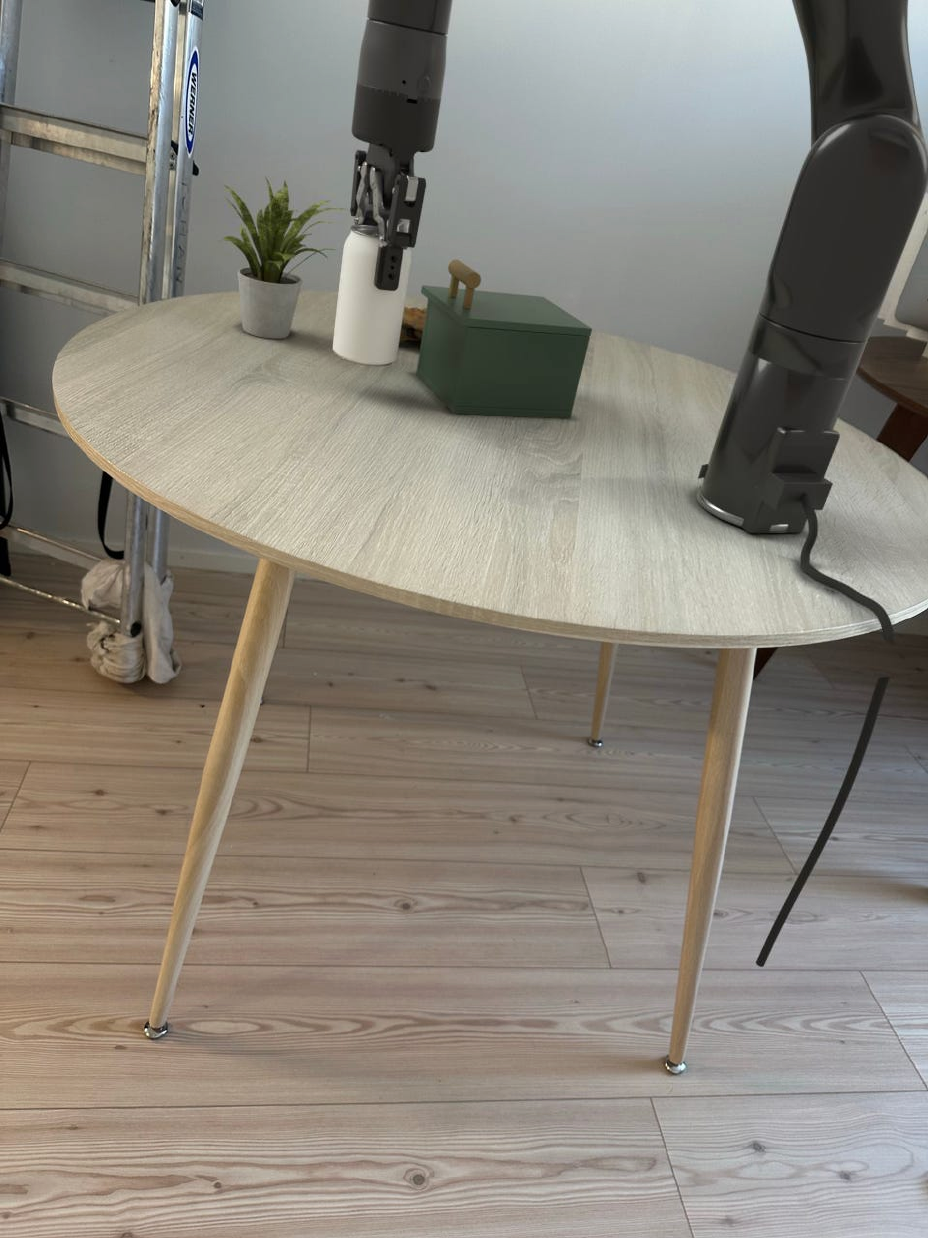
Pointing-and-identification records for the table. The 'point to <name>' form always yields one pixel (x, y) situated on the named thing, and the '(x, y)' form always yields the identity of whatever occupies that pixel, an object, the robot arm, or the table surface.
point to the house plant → (271, 264)
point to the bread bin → (500, 368)
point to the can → (368, 303)
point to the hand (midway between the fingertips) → (374, 278)
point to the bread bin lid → (499, 307)
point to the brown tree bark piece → (412, 324)
